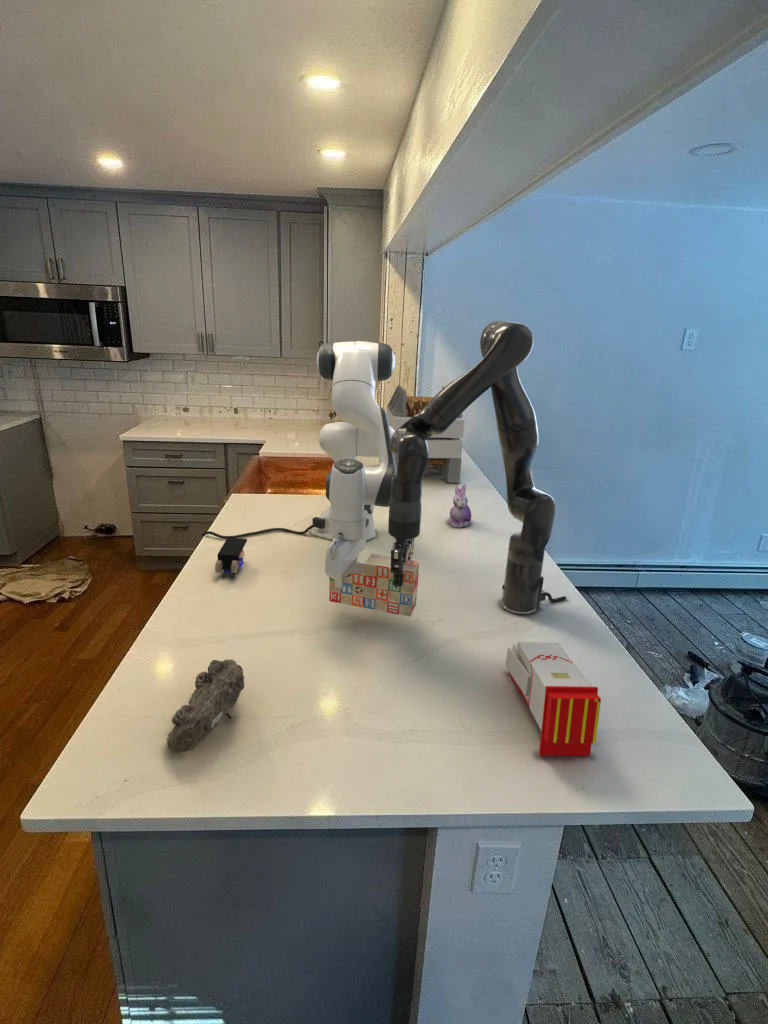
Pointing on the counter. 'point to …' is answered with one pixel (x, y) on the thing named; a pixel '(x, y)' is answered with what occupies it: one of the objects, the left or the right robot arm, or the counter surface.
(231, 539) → the black wheeled block
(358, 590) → the stack of blocks
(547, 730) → the toy
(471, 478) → the counter surface
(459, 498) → the figurine
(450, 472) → the grey storage crate
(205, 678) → the fossil
